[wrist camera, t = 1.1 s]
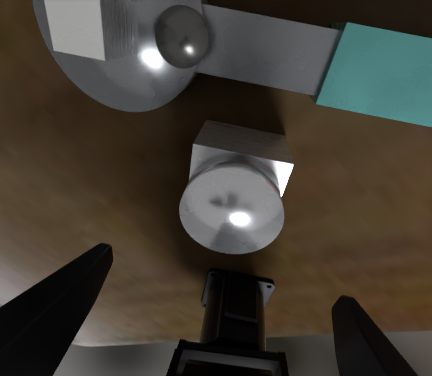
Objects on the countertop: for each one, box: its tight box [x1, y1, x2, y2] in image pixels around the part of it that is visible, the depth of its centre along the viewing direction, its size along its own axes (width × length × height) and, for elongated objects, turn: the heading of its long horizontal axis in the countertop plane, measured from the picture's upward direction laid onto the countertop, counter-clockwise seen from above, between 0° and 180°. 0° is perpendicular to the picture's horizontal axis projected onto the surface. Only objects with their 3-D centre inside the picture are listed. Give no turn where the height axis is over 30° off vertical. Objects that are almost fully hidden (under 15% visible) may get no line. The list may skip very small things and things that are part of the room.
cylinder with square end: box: [179, 119, 294, 254], centre depth 15 cm, size 5×5×6 cm
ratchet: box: [32, 0, 432, 127], centre depth 11 cm, size 20×8×6 cm, turn 81°
